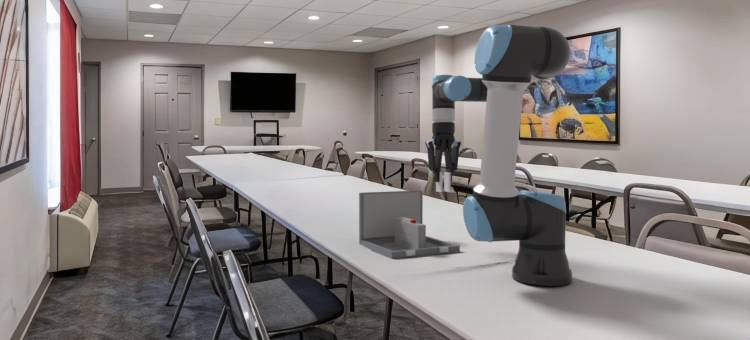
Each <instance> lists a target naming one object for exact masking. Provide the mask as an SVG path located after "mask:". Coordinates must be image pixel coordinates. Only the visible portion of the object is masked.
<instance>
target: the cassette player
mask: <svg viewBox="0 0 750 340" xmlns="http://www.w3.org/2000/svg"><path fill="white" fill-rule="evenodd" d="M426 228H427V227H426V224H423V223H422V224H420V223H416V220H413V219H409V218H405V217H398V219H396V220H395V242H394V244H395V245H396V246H398V247H401V248H402V249H403V250H409V249H420V248H427V247H426V245H427V244H426V242H427V241H426V236H427V234H426V230H427V229H426Z"/></svg>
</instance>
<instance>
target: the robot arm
mask: <svg viewBox="0 0 750 340" xmlns="http://www.w3.org/2000/svg"><path fill="white" fill-rule="evenodd" d="M474 52H475V53H474V64H475V66H474V67H475V71H476V72H477V73H478V74H479V75H482V77H466V76H463V75H452V74H436V75H435V76H433V78H432V84H431V90H432V93H431V95H432V99H431V100H432V101H431V102H432V103H431V107H432V110H431V111H432V113H431V114H432V117H431V118H432V121H433V122H432V124H431V128H432V129H431V131H432V137H431V139H430V140H428V141H425V143H424V144H425V146H426V150H427V159H428V169H429V171H432V173H434V174H433V177H434V179H433V181H434V183H435V193H436V192H437V193H443V192H448V193H451V182H453V173H454V172H455V171H457V170H458V166H459V156H460V155H459V154H460V147H461V145H462V142H461V141H458V140H457V139H456V138H455V133H456V132H455V131H456V126H455V125H456V124H455V120H456V102H470V103H471V102H473V103H475V102H476V103H477V102H479V103H481V102H482V103H485V105H486V106H485V113H484V114H485V117H484V124H483V125H484V129H483V140H482V151H481V160H480V161H481V162H480V163H481V164H480V176H479V182H478V183H477V184H476V185H474V186H473V188H472V195H469V196H467V197H466V198H465V199H464V201H463V206H462V214H463V215H462V216H463V222H464V225H465V227H466V231H467V233H468V234H469V236H470V237H471V238H472V239H473V240H474V241H476V242H485V243H486V242H488V243H492V242H510V241H511V242H512V241H513V242H514V241H518V242H519V243H518V245H519V246H518V247H519V248H518V251H517V254H516V258H515V260H514V261H515V262H514V265H513V266H512V269H511V277H512V279H514V280H515V281H517V282H521V283H525V284H530V285H534V286H535V285H536V286H547V287H548V286H550V287H551V286H564V285H569V284H570V283H573V272H572V270H571V269H570V263H569V260H568V257H567V253H566V252H567V251H566V225H567V224H566V219H567V217H566V215H567V212H568V211H567V207H566V206H567V205H566V204H567V203H566V199H565V197H563V196H562V195H560V194H554V193H548V192H542V191H541V192H540V191H532V190H524V189H522V190H520V191H519V189H518V188H517V187H516V186H515V179H516V170H517V169H516V168H517V159H518V158H517V157H518V148H519V138H520V130H521V129H520V128H521V120H522V119H521V118H522V109H523V98H524V91H525V90H526V88H528V87H529V86H530V85H531V84H532V83H534V82H536V81H538V80H541V81H542V80H549V79H551V78H553V77H555V76H557V75H558V74H560V73H561V72H563V71H564V70H565V68H566V67H567V65H568V64H569V62H570V57H571V48H570V43H569V42H568V39H567V38H566V36H564V35H563V33H561V32H560V31H558V30H557V29H555V28H552V27H548V26H530V25H519V24H518V25H516V24H495V25H490V26H488V27H487V28H486V29H485V30H484V31H483V32H482V34H481V36H480V38H479V39H478V42H477V44H476V49H475V51H474ZM443 153H444V155H443ZM443 156H444V163H445V164H444V165H445V171H444V172H441V169H442V168H441V167H442V159H443Z"/></svg>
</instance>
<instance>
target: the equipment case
mask: <svg viewBox="0 0 750 340" xmlns="http://www.w3.org/2000/svg"><path fill="white" fill-rule="evenodd" d="M423 191H424V190H421V189H419V190H398V191H397V190H395V191H372V192H370V191H367V192H364V191H363V192H359V193H358V235H359V236H358V241H359V242H358V244H359V245H361V246H362V247H364V248H365V249H368V250H370V251H371V252H374V253H377V254H380V255H382V256H384V257H387V258H389V259H391V260H392V259H401V258H413V257H422V256H432V255H440V254H442V255H443V254H450V253H452V254H453V253H460V251H461V249H460V248H461V246H460V245H459V244H455V243H452V242H448V241H445V240H440V239H437V238H434V237H431V236H427V235H426V242H429V243H432V244H434V245H436V246H432V247H426V248H420V249H409V250H407V249H401V250H392V249H390V248H387V247H383V246H382V245H380V244H386V243H395V220H396V219H398V217H405V218H409V219H413V220H416V223H420V224H423V212H424V211H423V202H424V201H423V199H424V198H423V196H424V195H423V193H424V192H423Z"/></svg>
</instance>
